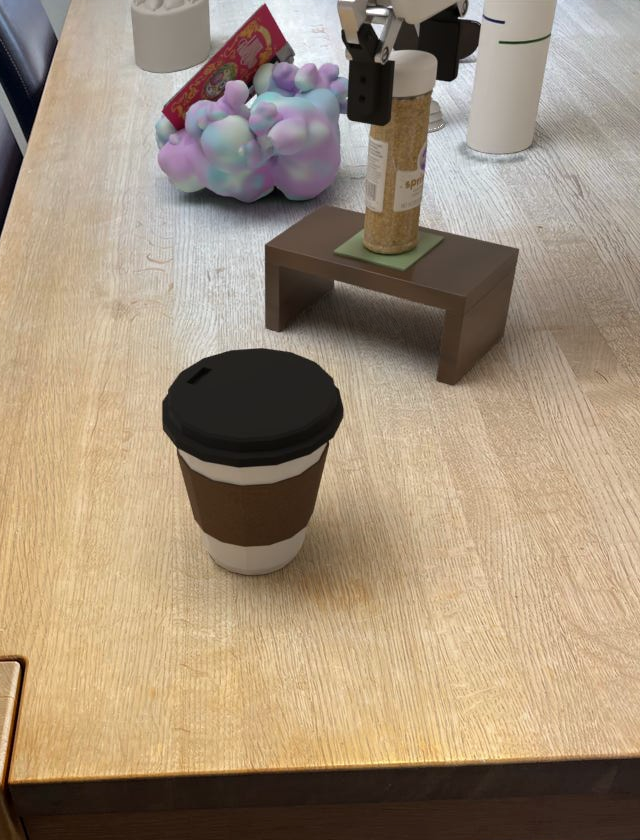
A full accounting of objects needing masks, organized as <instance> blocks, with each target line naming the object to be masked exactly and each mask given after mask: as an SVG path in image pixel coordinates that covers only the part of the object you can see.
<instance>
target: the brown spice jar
mask: <svg viewBox="0 0 640 840" xmlns="http://www.w3.org/2000/svg"><path fill="white" fill-rule="evenodd" d="M388 60H392V61H395V68H394V82H393V96H392V109H391V120H390V122H389V123H388V124H386V125H385V126H377V125H372V124H370V127H369V133H368V141H367V142H368V144H367V162H366V177H365V194H364V204H365V212H364V213H365V223H364V233H363V236H362V243H363V245H364V246H365V247H366V248H367V249H369V250H371V251H373V252H375V253H382V254H397V253H402V252H405V251H408V250H411V249H412V248H413V247H415V246H416V245H417V243H418V242H419V233H418V228H419V226H420V216H421V205H422V201H423V194H424V184H425V183H424V182H425V172H426V163H427V153H428V141H429V140H428V134H429V132H428V125H429V114H430V105H431V97H432V95H433V93H434V90H433V89H434V88H435V86H436V83H437V82H436V81H437V80H436V74H437V59H436V57H435V56H434V55H432V54H430V53H428V52H424V51H417V50H400V51H395V50H393V51H391V54H390V56H389V59H388Z"/></svg>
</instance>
